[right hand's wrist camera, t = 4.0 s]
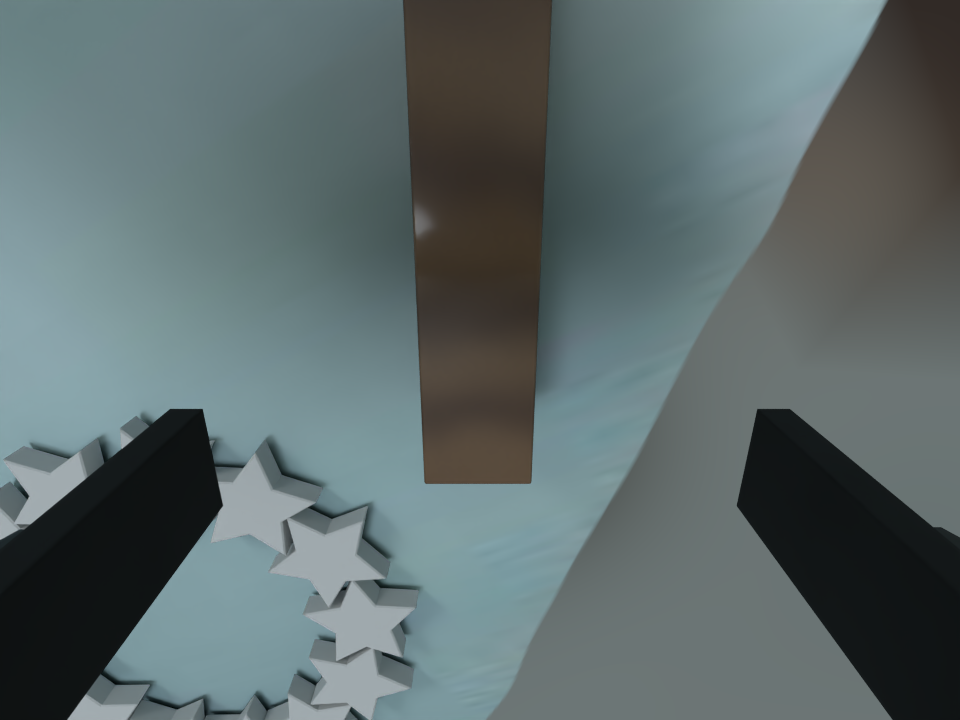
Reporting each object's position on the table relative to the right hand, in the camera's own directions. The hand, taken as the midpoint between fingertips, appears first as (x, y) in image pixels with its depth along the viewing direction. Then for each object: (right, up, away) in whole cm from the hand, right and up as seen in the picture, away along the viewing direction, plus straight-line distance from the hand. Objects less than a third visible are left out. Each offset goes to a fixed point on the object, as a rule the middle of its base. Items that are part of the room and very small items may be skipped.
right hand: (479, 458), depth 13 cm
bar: (0, +37, +3) cm, 37 cm away
